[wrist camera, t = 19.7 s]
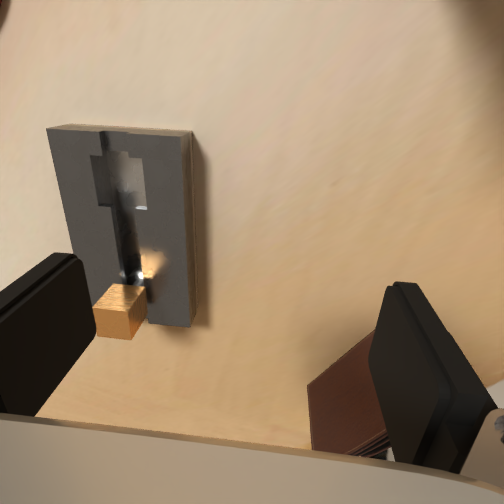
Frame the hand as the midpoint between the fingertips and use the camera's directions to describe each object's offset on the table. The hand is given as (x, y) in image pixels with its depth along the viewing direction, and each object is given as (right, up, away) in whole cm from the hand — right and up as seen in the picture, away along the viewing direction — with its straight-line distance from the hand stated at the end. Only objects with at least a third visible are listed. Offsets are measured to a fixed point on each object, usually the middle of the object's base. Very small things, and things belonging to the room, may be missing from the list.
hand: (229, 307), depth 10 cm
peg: (-14, -2, +35) cm, 38 cm away
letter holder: (+19, -15, +40) cm, 47 cm away
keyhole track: (-13, +5, +33) cm, 36 cm away
